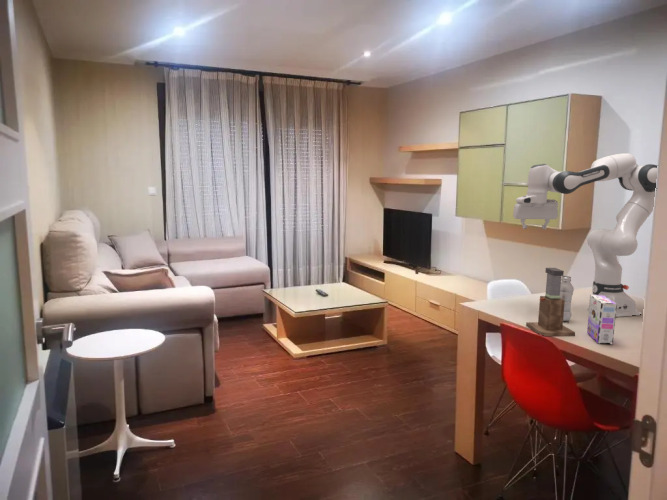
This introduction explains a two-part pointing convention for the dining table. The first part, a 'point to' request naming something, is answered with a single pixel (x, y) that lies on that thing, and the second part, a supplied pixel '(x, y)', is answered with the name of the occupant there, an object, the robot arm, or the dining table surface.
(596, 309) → the candy box
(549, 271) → the column
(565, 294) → the plastic bottle
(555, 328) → the stand
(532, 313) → the dining table surface
